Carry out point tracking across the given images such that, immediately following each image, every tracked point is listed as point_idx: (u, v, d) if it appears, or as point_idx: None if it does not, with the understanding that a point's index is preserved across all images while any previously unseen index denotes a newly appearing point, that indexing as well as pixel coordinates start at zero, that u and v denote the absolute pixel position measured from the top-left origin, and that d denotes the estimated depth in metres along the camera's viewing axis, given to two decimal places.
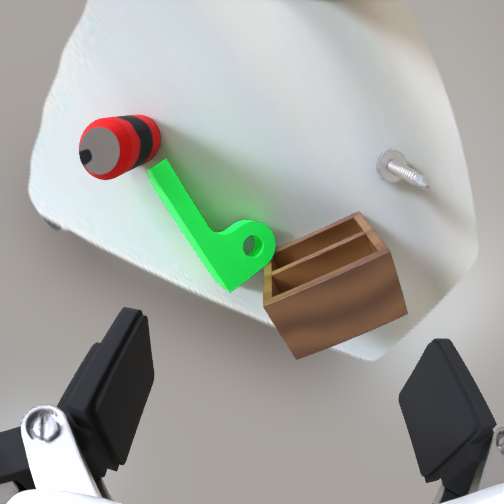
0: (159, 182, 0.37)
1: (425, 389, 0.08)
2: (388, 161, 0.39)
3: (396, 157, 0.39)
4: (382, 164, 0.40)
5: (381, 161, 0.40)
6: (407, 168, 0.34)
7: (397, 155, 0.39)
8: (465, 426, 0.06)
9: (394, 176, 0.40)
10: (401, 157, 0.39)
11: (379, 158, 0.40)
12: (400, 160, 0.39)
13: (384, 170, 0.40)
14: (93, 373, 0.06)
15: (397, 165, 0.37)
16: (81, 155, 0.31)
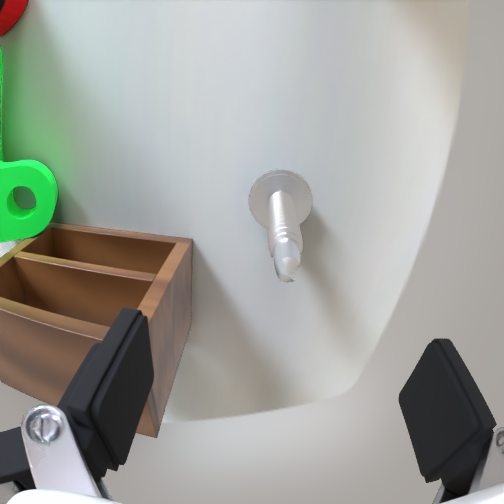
0: None
1: (425, 389, 0.08)
2: (277, 189, 0.23)
3: (295, 191, 0.23)
4: (263, 188, 0.23)
5: (264, 182, 0.23)
6: (287, 217, 0.18)
7: (299, 189, 0.23)
8: (465, 426, 0.06)
9: None
10: (305, 196, 0.23)
11: (264, 175, 0.23)
12: (300, 200, 0.23)
13: (261, 199, 0.23)
14: (93, 373, 0.06)
15: (281, 202, 0.20)
16: None
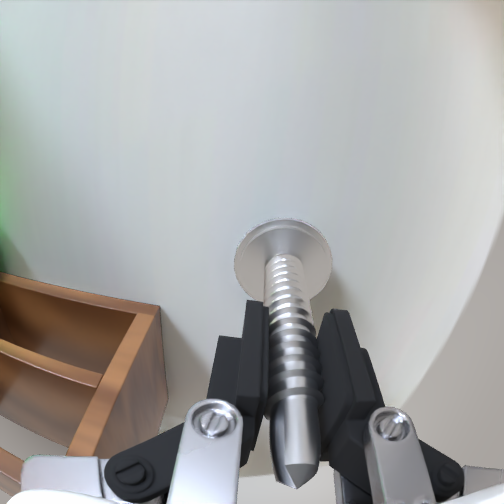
0: None
1: (320, 360, 0.09)
2: (278, 250, 0.15)
3: (307, 252, 0.15)
4: (256, 248, 0.15)
5: (258, 239, 0.14)
6: (296, 330, 0.10)
7: (314, 249, 0.15)
8: (340, 398, 0.07)
9: None
10: (322, 260, 0.15)
11: (258, 228, 0.15)
12: (314, 266, 0.15)
13: (253, 265, 0.15)
14: (251, 361, 0.07)
15: (285, 284, 0.12)
16: None
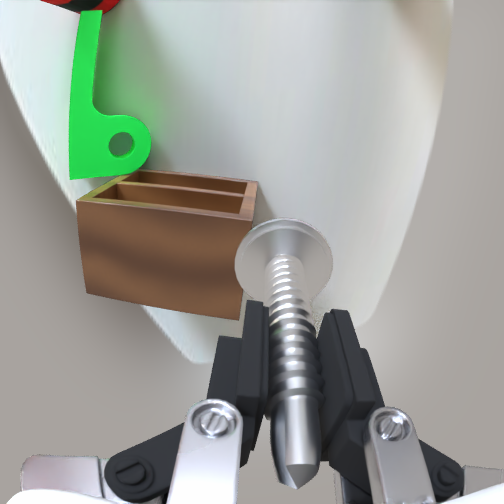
0: (79, 27, 0.23)
1: (320, 360, 0.09)
2: (278, 251, 0.15)
3: (308, 253, 0.15)
4: (256, 249, 0.15)
5: (258, 240, 0.14)
6: (297, 330, 0.10)
7: (314, 250, 0.15)
8: (340, 398, 0.07)
9: None
10: (322, 260, 0.15)
11: (259, 229, 0.15)
12: (314, 266, 0.15)
13: (253, 266, 0.15)
14: (251, 361, 0.07)
15: (285, 285, 0.12)
16: None
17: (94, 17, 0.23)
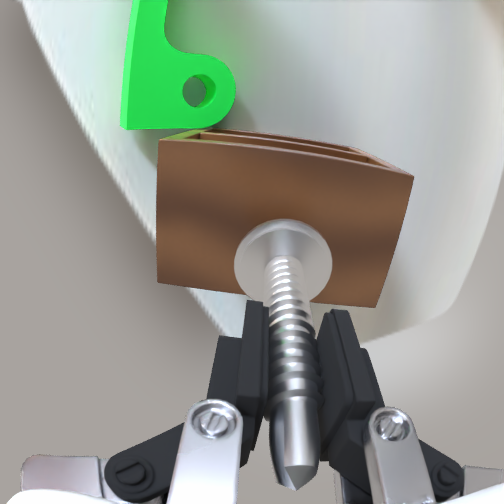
0: None
1: (320, 360, 0.09)
2: (278, 251, 0.15)
3: (307, 254, 0.15)
4: (256, 249, 0.15)
5: (258, 240, 0.14)
6: (296, 331, 0.10)
7: (313, 250, 0.15)
8: (340, 398, 0.07)
9: None
10: (322, 261, 0.15)
11: (258, 229, 0.15)
12: (313, 267, 0.15)
13: (253, 267, 0.15)
14: (251, 361, 0.07)
15: (285, 285, 0.12)
16: None
17: None
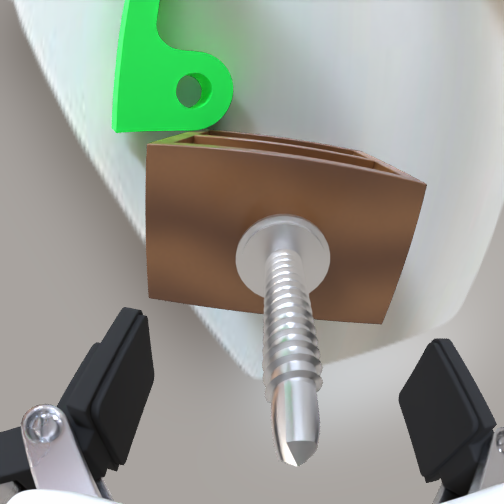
0: None
1: (425, 389, 0.08)
2: (278, 245, 0.15)
3: (306, 247, 0.15)
4: (257, 243, 0.15)
5: (258, 235, 0.15)
6: (296, 318, 0.10)
7: (312, 244, 0.15)
8: (465, 426, 0.06)
9: None
10: (320, 254, 0.15)
11: (259, 224, 0.15)
12: (312, 260, 0.16)
13: (254, 260, 0.16)
14: (93, 373, 0.06)
15: (285, 276, 0.13)
16: None
17: None
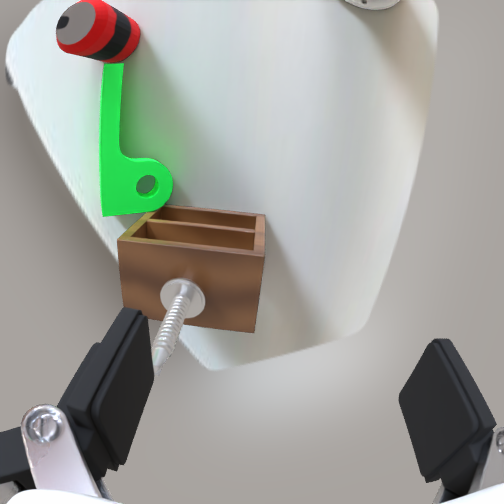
0: (104, 80, 0.30)
1: (425, 389, 0.08)
2: (177, 292, 0.31)
3: (191, 293, 0.31)
4: (168, 291, 0.31)
5: (168, 287, 0.31)
6: (168, 327, 0.26)
7: (193, 292, 0.31)
8: (465, 426, 0.06)
9: None
10: (198, 297, 0.31)
11: (168, 282, 0.31)
12: (195, 299, 0.31)
13: (168, 299, 0.32)
14: (93, 373, 0.06)
15: (173, 309, 0.29)
16: (60, 19, 0.23)
17: (117, 70, 0.31)
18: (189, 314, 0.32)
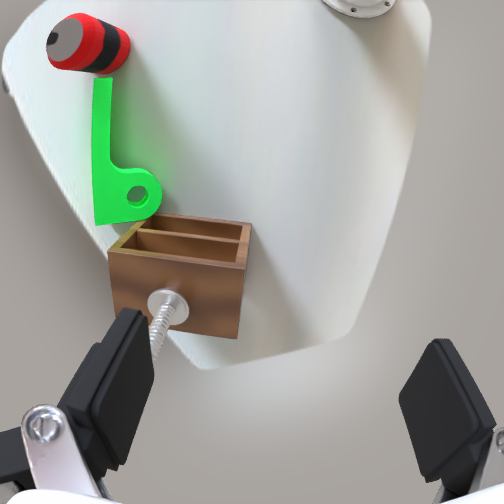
0: (94, 94, 0.32)
1: (425, 389, 0.08)
2: (163, 301, 0.33)
3: (175, 303, 0.33)
4: (154, 300, 0.33)
5: (154, 297, 0.33)
6: (152, 336, 0.28)
7: (177, 302, 0.33)
8: (465, 426, 0.06)
9: None
10: (182, 306, 0.33)
11: (154, 292, 0.33)
12: (179, 308, 0.33)
13: (154, 307, 0.33)
14: (93, 373, 0.06)
15: (158, 318, 0.31)
16: (50, 35, 0.24)
17: (106, 84, 0.32)
18: (174, 321, 0.34)
